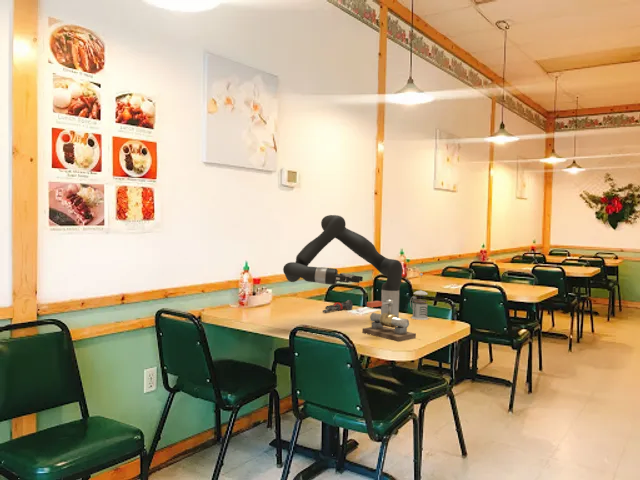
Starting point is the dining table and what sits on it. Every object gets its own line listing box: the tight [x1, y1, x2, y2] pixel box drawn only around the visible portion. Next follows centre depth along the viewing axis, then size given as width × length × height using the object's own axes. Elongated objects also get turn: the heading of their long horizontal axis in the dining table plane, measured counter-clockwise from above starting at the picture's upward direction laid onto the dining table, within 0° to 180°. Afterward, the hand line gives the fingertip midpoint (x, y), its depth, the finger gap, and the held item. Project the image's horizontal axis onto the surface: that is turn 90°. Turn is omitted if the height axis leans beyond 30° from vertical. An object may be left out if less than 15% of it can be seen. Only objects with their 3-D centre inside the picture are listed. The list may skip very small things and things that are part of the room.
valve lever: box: [366, 299, 393, 308], centre depth 234 cm, size 3×16×2 cm, turn 132°
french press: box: [409, 272, 429, 321], centre depth 284 cm, size 10×12×25 cm
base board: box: [361, 326, 417, 342], centre depth 239 cm, size 22×12×2 cm, turn 42°
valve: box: [322, 299, 354, 313], centre depth 305 cm, size 6×26×15 cm
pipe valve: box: [369, 305, 410, 335], centre depth 239 cm, size 20×6×12 cm, turn 42°
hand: (361, 279), depth 232 cm, fingers open, 8 cm apart
